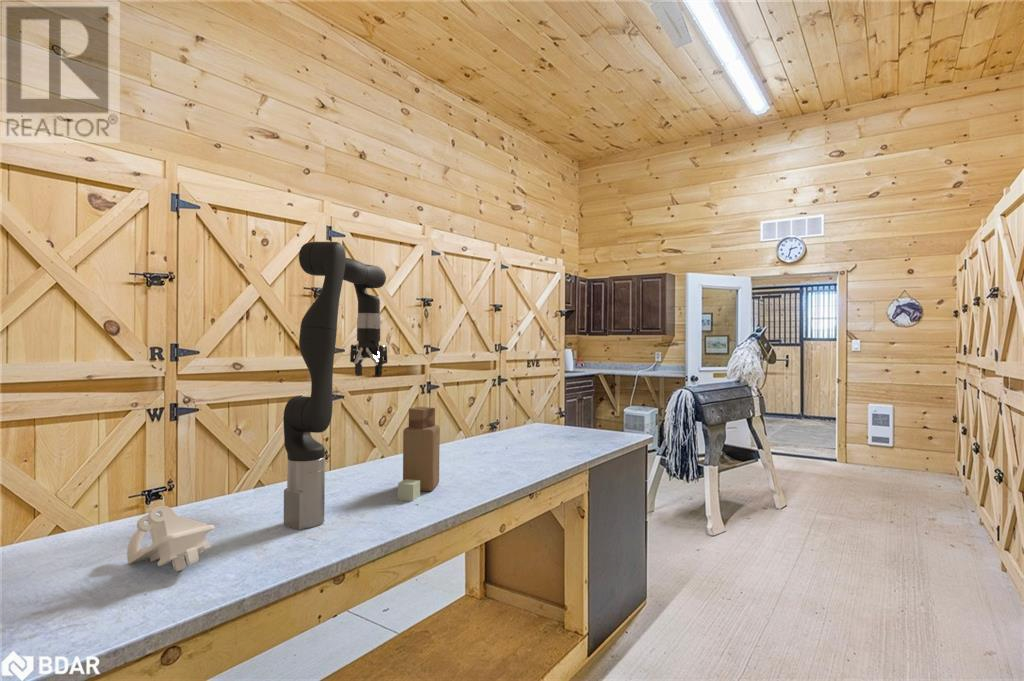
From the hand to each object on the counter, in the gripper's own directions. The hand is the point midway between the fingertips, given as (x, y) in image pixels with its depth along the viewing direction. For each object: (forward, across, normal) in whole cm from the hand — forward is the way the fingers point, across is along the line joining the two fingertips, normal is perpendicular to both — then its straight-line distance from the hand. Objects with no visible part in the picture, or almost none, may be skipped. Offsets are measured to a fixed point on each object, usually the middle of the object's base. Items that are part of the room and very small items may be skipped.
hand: (368, 376), depth 177 cm
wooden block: (+36, +17, +7) cm, 41 cm away
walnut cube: (+16, +17, +7) cm, 24 cm away
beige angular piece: (+36, +8, -68) cm, 77 cm away
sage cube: (+36, +21, -4) cm, 42 cm away
